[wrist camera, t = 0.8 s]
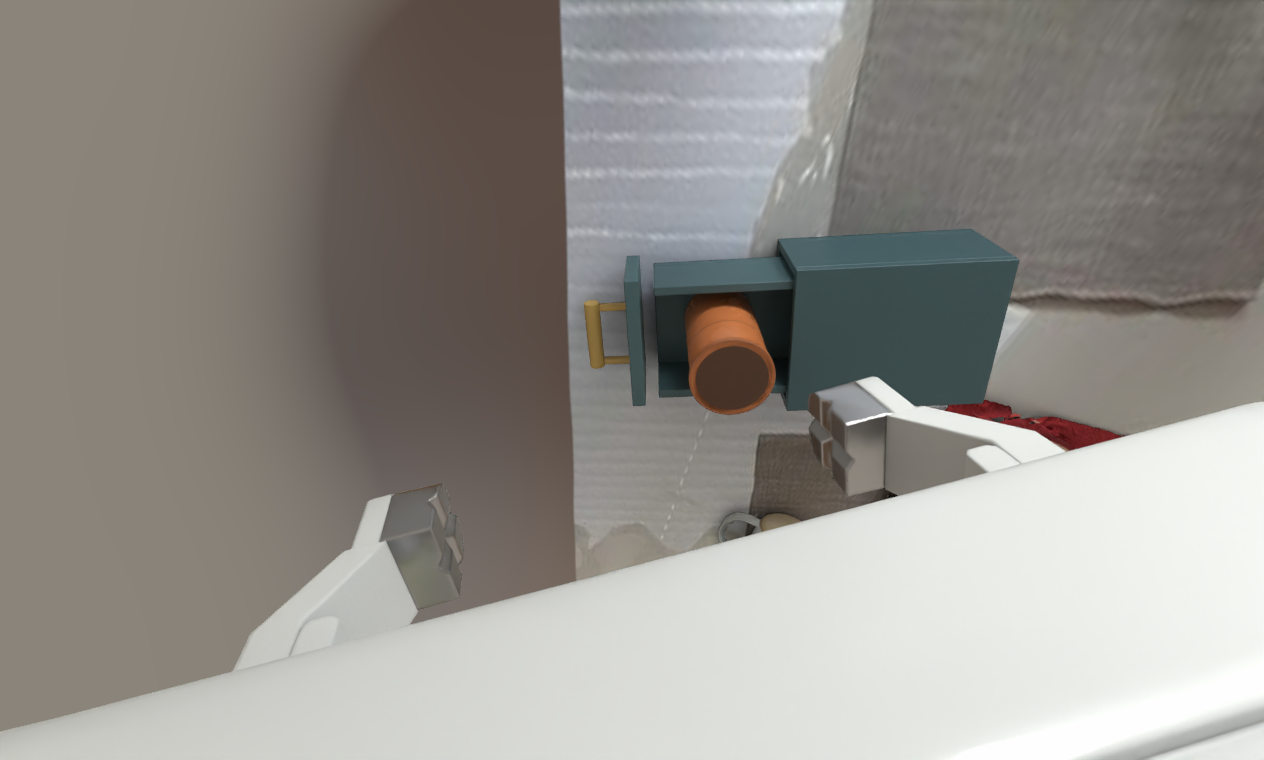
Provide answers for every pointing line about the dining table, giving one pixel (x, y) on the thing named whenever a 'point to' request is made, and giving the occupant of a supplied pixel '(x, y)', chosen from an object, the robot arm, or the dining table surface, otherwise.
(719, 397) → the orange lidded canister
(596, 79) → the dining table surface
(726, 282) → the drawer
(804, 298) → the cabinet
